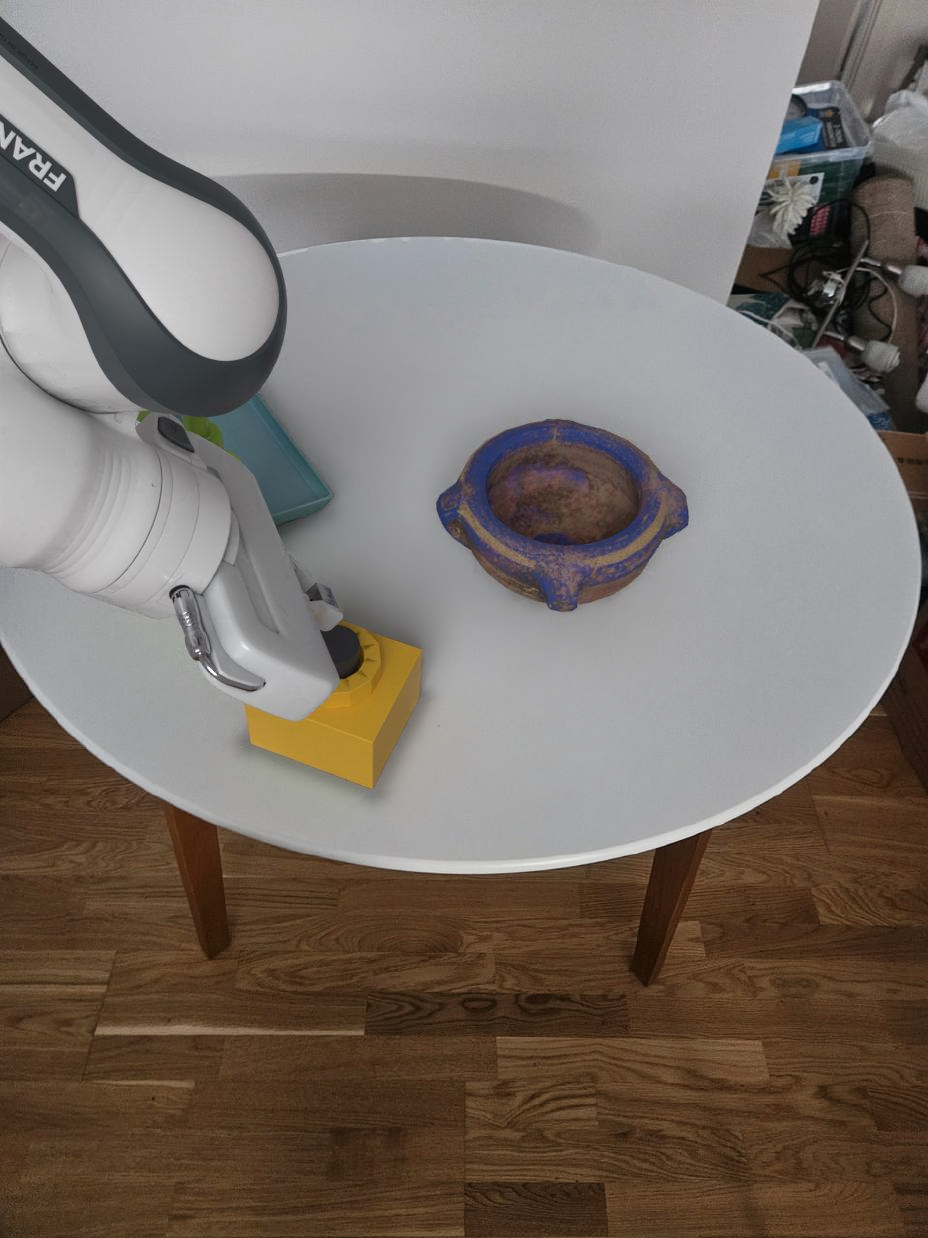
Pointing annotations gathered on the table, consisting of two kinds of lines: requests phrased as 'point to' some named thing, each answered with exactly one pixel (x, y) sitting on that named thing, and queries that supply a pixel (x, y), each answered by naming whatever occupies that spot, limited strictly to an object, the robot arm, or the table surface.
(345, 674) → the black cylinder
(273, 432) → the rectangular tray
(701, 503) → the table surface
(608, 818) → the table surface
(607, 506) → the bowl
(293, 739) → the yellow push button box
